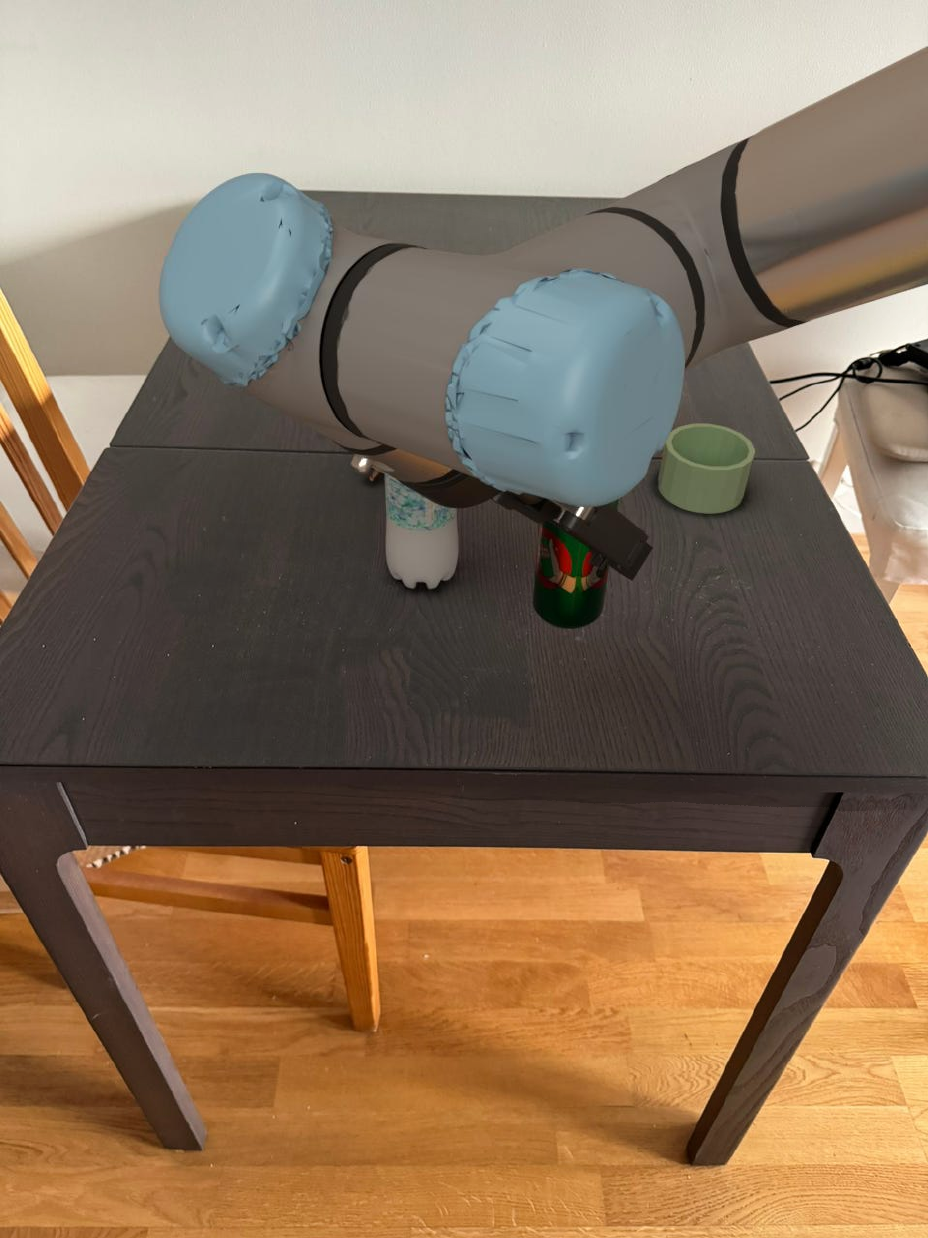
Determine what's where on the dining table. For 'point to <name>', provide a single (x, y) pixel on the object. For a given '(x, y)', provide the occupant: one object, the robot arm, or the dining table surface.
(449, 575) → the bottle
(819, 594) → the dining table surface
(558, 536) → the soda can
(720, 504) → the cup
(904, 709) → the dining table surface
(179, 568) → the dining table surface
